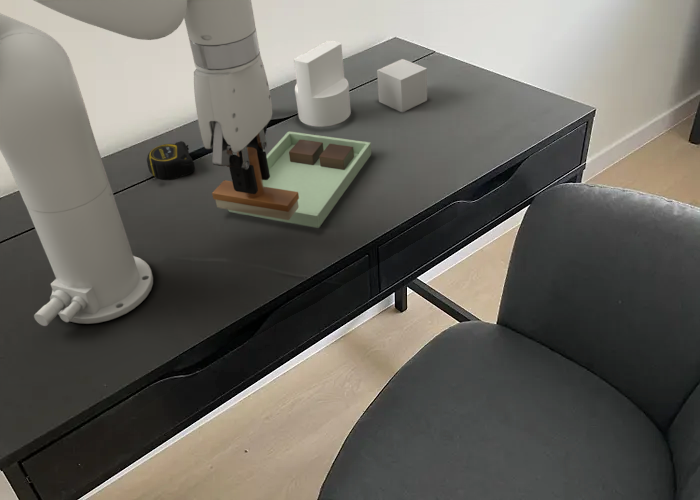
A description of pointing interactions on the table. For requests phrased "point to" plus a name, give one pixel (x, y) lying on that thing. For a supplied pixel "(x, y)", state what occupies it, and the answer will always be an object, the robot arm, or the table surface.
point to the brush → (257, 196)
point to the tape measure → (170, 161)
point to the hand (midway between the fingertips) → (252, 183)
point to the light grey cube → (402, 85)
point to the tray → (311, 177)
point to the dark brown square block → (306, 152)
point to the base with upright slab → (322, 86)
